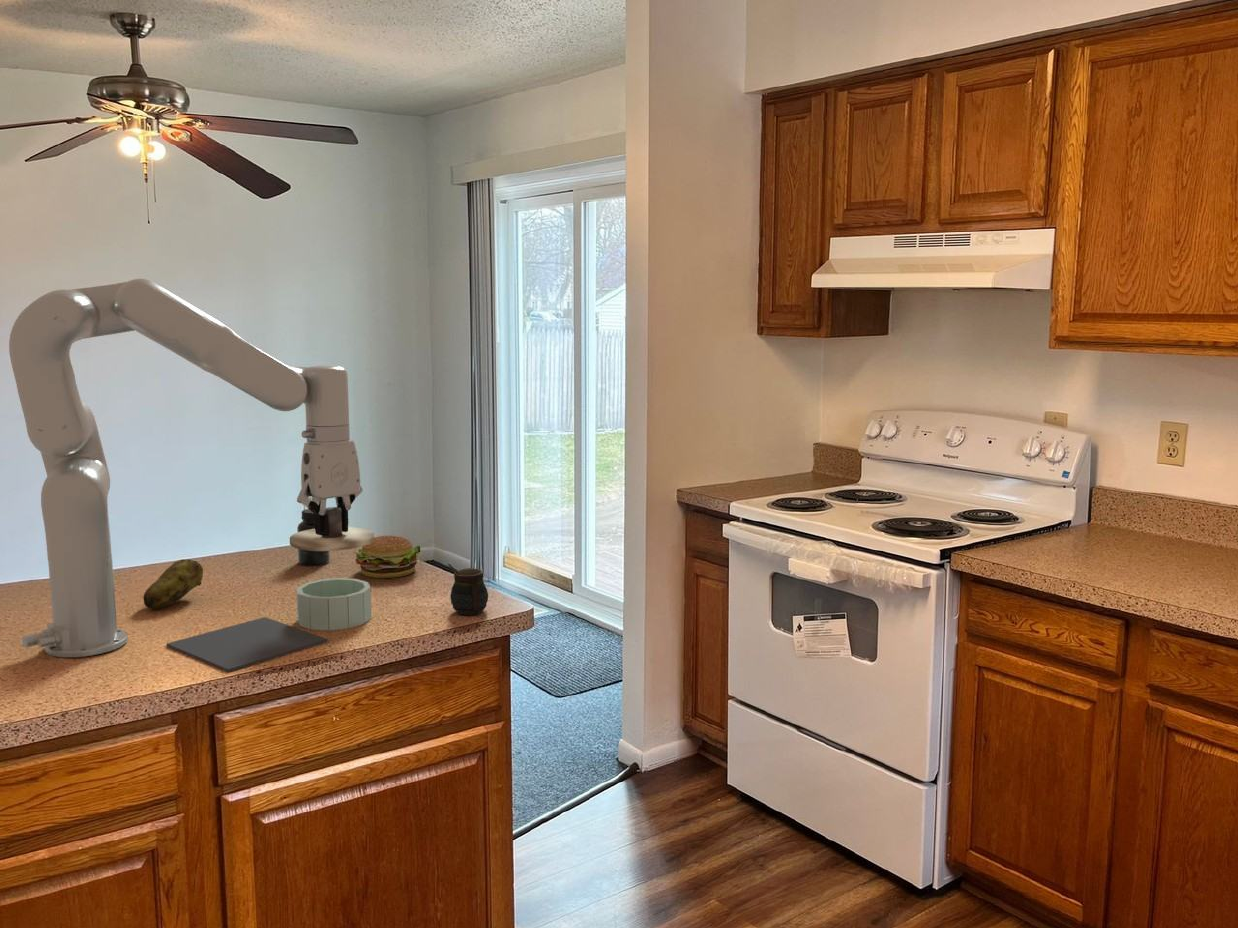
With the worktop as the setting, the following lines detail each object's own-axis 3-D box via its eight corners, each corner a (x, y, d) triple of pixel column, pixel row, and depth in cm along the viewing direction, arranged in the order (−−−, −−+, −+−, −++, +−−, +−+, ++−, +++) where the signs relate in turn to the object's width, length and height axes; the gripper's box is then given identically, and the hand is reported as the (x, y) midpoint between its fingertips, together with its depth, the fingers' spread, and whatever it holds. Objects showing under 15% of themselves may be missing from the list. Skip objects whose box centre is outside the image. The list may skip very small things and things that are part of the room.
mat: (228, 672, 162) (228, 669, 162) (166, 646, 174) (166, 643, 174) (327, 641, 177) (327, 638, 177) (265, 619, 189) (264, 616, 189)
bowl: (326, 635, 181) (325, 602, 180) (283, 620, 188) (282, 589, 187) (384, 617, 191) (384, 586, 190) (341, 604, 199) (340, 574, 198)
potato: (130, 606, 196) (127, 566, 194) (193, 592, 205) (191, 553, 204) (151, 615, 190) (148, 574, 189) (215, 600, 200) (213, 560, 199)
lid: (323, 555, 177) (322, 521, 176) (272, 542, 186) (271, 510, 185) (391, 539, 189) (390, 507, 188) (340, 528, 198) (339, 497, 197)
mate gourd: (495, 614, 194) (494, 563, 192) (457, 620, 190) (456, 569, 188) (479, 604, 200) (478, 554, 198) (443, 610, 196) (442, 560, 194)
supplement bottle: (292, 565, 226) (290, 512, 224) (307, 557, 233) (305, 506, 231) (321, 567, 225) (319, 514, 223) (335, 559, 232) (333, 508, 230)
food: (344, 580, 216) (343, 543, 214) (369, 563, 230) (368, 528, 228) (406, 583, 214) (406, 546, 213) (428, 566, 228) (427, 531, 226)
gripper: (301, 441, 175) (305, 544, 178) (378, 431, 188) (381, 528, 191) (275, 437, 180) (280, 538, 183) (352, 428, 193) (355, 522, 196)
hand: (331, 531), depth 187 cm, fingers closed on lid, 3 cm apart
